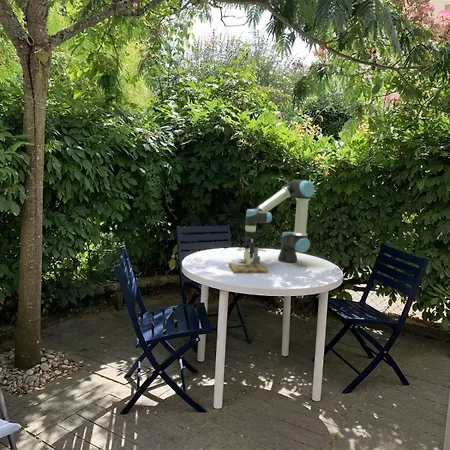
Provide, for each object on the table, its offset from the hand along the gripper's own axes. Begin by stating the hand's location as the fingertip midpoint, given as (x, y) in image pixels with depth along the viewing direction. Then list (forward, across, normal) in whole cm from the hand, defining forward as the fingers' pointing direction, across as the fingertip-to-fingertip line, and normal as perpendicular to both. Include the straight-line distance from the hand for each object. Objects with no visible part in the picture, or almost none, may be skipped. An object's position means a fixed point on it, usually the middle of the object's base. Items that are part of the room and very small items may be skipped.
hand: (248, 259), depth 302 cm
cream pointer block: (+4, 0, -3) cm, 5 cm away
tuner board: (+6, +3, -1) cm, 7 cm away
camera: (+7, -16, +5) cm, 18 cm away
